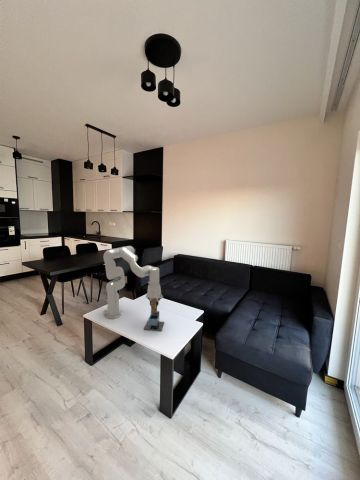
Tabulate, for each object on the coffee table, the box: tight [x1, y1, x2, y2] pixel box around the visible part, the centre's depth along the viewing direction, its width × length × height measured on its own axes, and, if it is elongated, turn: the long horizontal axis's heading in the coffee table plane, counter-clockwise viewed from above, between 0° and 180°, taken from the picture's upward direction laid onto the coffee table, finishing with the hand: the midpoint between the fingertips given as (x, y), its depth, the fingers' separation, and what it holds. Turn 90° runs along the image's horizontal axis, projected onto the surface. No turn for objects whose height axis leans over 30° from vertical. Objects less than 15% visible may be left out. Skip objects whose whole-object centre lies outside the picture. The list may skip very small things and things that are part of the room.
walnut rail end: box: [150, 298, 158, 313], centre depth 153 cm, size 4×4×12 cm
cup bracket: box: [143, 310, 165, 332], centre depth 156 cm, size 14×12×12 cm
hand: (154, 305), depth 153 cm, fingers closed on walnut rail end, 4 cm apart
